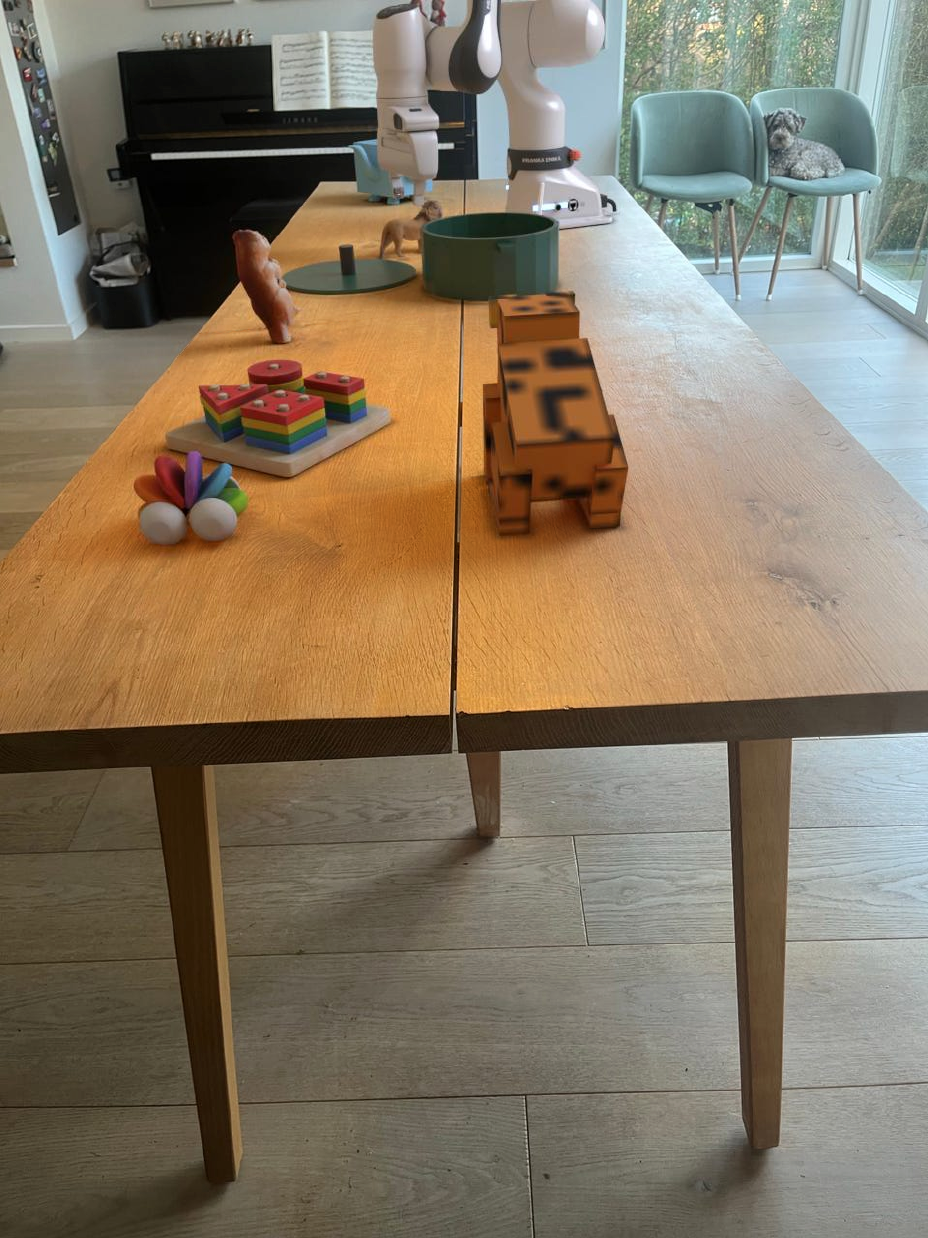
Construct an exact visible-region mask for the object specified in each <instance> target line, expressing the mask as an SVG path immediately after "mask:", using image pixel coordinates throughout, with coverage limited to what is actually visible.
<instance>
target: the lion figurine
mask: <svg viewBox="0 0 928 1238" xmlns="http://www.w3.org/2000/svg"><path fill="white" fill-rule="evenodd" d="M443 215H444V210H443V207H442V205H441V203H440V202H439V201H437V199H427V201H424V205H423V206H421V209H420V210H419V212H418V214H417V215H416V216H415V217H413V218H412V219H399V218H394V219H391V220H389V221H388V222H387V223H386V224H385V225H384V227H383V229H382V232H381V239H380V246H379V255H378V258H377V259H382V260H383V258H384V257H385V258H386V257H387V254H385V250H386V249H387V248H388V247H389V246H390V245H391V244H392V243H393V245H394V253H395V255H396V256H397V257H398V258H406V257H407V255H404V254H402V251H401V248H402V243H403V241H404V240H405V241H410V242H413V241H417V245H418V246H417V249H418V250H417V251H419V252H421V236H420V228H421V227H422V225H423V224H425V223H427V222H430V221H432V220H435V219H439V218H443ZM403 239H404V240H403Z"/></svg>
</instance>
